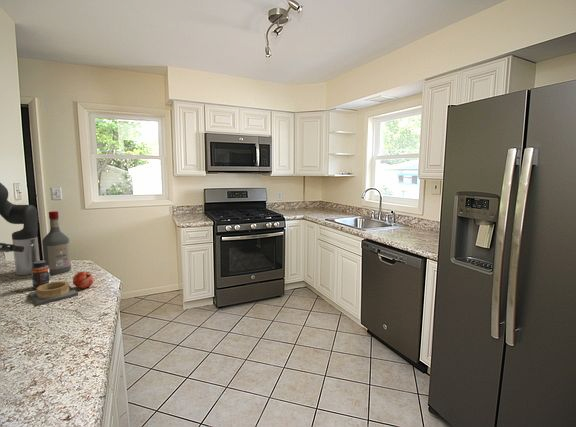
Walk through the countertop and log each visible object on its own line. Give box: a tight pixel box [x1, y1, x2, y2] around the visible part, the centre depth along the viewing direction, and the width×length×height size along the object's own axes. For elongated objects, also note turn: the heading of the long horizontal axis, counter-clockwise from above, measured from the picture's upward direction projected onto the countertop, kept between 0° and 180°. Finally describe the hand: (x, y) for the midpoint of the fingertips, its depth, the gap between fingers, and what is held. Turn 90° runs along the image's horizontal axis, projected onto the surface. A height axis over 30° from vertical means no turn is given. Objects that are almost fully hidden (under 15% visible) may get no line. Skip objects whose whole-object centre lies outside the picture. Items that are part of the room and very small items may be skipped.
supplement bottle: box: [31, 260, 52, 290], centre depth 130 cm, size 6×6×11 cm
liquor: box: [42, 210, 72, 276], centre depth 148 cm, size 9×9×30 cm
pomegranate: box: [72, 271, 95, 290], centre depth 131 cm, size 7×7×10 cm
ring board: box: [28, 280, 79, 307], centre depth 123 cm, size 14×13×4 cm
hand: (16, 249), depth 122 cm, fingers open, 8 cm apart
